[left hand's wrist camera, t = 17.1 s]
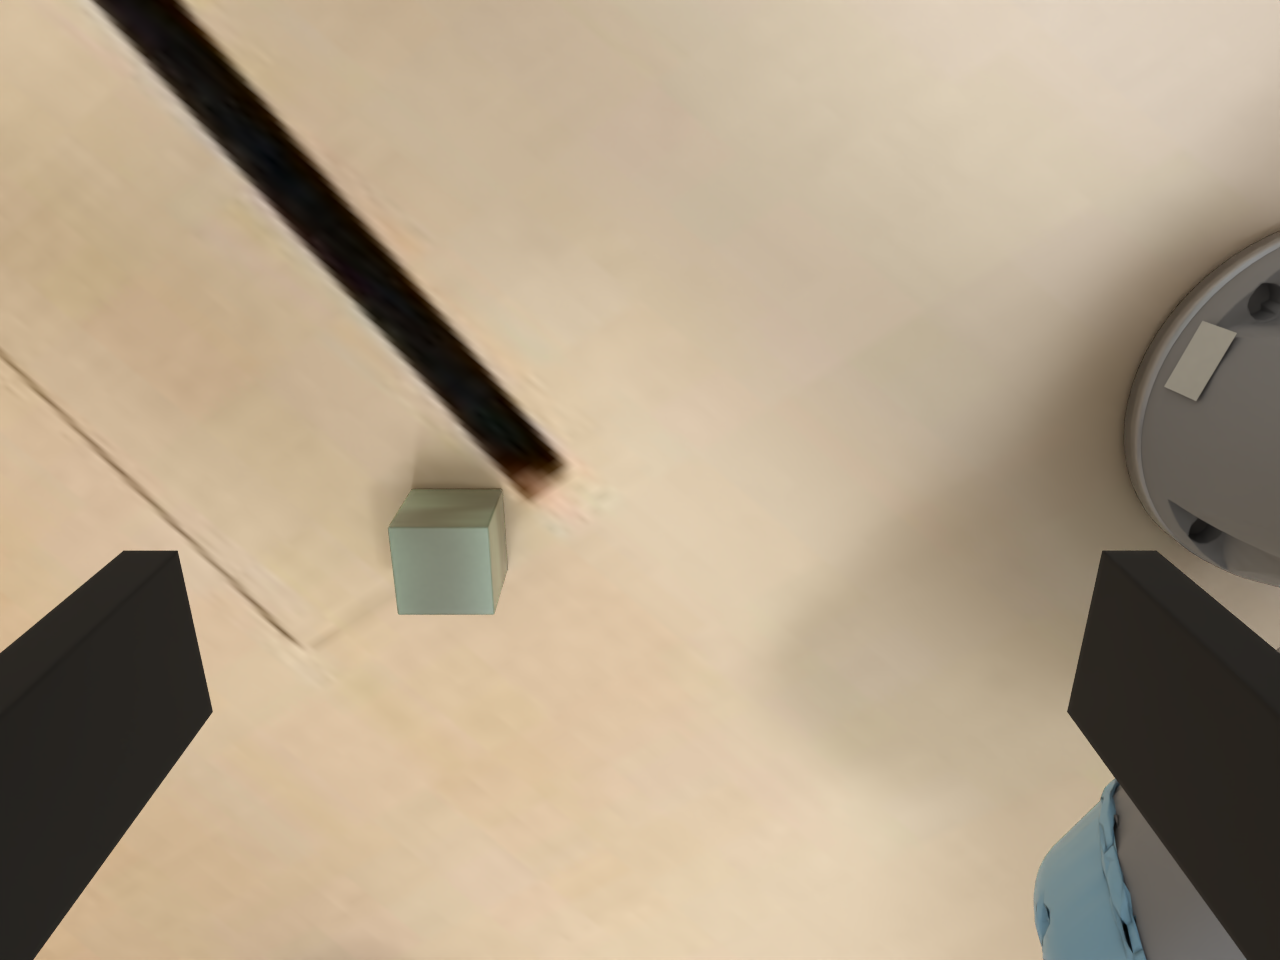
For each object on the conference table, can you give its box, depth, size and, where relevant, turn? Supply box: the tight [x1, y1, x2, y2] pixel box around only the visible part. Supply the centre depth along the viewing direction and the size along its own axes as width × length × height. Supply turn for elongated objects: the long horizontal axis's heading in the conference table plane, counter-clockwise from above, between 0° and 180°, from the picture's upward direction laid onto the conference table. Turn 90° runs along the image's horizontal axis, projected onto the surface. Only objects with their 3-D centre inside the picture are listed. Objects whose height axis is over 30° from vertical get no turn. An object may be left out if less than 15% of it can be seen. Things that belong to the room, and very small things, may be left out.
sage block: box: [388, 489, 508, 615], centre depth 38 cm, size 4×4×4 cm
